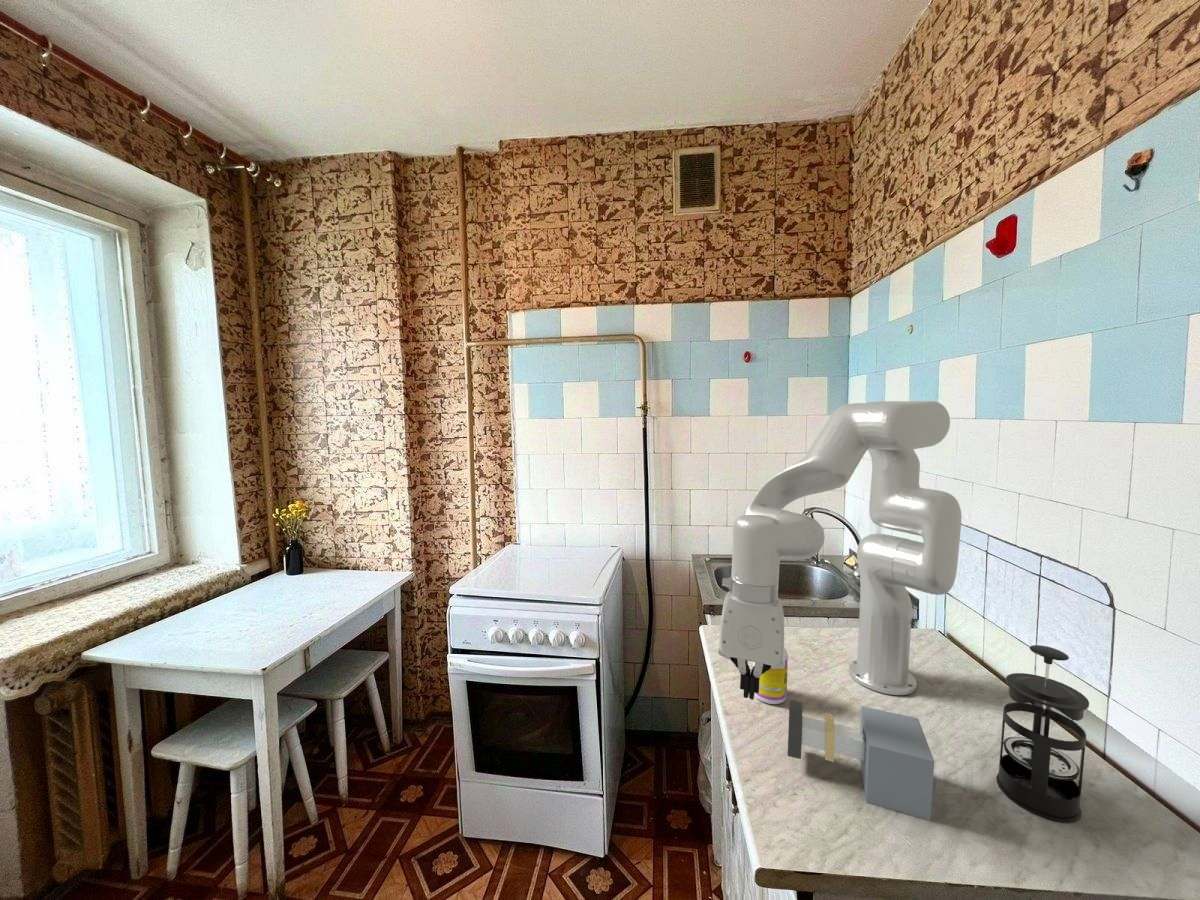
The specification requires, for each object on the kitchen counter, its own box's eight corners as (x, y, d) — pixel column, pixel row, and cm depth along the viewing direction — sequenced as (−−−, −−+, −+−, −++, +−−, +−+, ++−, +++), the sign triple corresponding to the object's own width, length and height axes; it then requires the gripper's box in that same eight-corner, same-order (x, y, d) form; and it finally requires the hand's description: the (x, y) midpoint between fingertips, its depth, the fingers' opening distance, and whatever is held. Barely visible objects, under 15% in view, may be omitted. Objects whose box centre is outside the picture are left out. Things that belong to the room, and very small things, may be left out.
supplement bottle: (789, 707, 92) (791, 644, 91) (754, 703, 93) (755, 641, 92) (783, 688, 98) (785, 629, 97) (750, 684, 100) (751, 626, 99)
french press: (1083, 839, 64) (1098, 677, 62) (993, 799, 70) (1004, 652, 68) (1078, 788, 72) (1091, 645, 70) (998, 757, 79) (1008, 625, 77)
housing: (858, 756, 79) (861, 705, 78) (915, 771, 76) (918, 718, 75) (866, 802, 70) (869, 745, 69) (930, 820, 67) (934, 761, 66)
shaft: (788, 732, 81) (789, 699, 81) (885, 756, 75) (887, 721, 75) (787, 755, 76) (788, 720, 75) (892, 784, 70) (894, 746, 69)
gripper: (704, 589, 78) (701, 695, 79) (802, 605, 72) (796, 719, 73) (712, 575, 85) (709, 673, 86) (802, 589, 79) (797, 693, 80)
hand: (749, 694), depth 80 cm, fingers closed
